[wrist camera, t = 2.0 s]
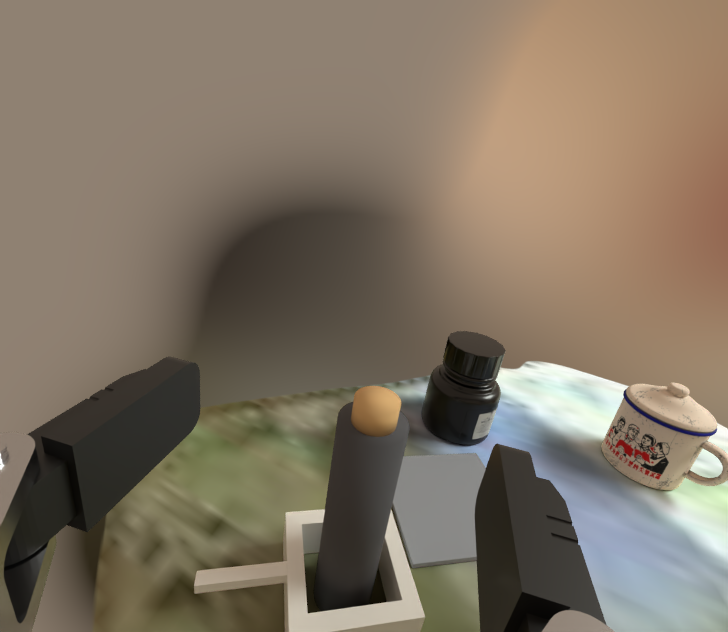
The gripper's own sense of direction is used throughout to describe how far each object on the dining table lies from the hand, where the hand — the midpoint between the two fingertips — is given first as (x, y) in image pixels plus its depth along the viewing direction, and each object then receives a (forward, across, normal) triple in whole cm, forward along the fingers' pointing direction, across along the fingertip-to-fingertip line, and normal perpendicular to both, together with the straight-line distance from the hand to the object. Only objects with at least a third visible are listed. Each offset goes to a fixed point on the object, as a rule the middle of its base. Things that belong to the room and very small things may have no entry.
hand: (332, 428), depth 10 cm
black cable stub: (+11, 0, +24) cm, 26 cm away
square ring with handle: (+10, +3, +24) cm, 26 cm away
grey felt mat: (+23, -8, +24) cm, 34 cm away
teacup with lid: (+36, -33, +24) cm, 54 cm away
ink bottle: (+36, -8, +24) cm, 44 cm away
